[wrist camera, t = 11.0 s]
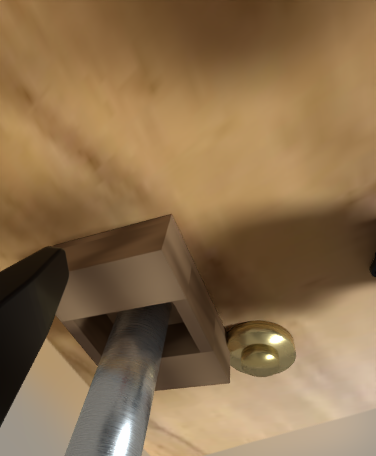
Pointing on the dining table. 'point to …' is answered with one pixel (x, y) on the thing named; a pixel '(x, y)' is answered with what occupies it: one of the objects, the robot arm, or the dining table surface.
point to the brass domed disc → (260, 348)
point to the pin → (123, 386)
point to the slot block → (145, 299)
